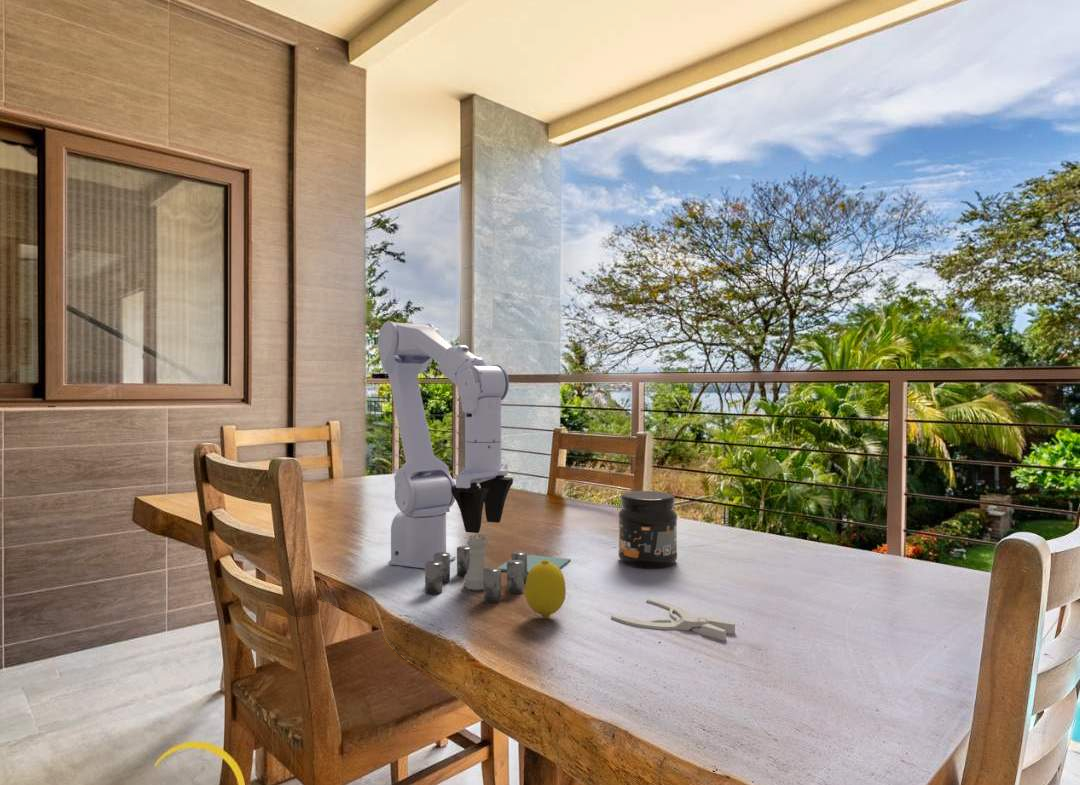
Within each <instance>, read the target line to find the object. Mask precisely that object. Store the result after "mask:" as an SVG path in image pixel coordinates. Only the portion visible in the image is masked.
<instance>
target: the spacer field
mask: <svg viewBox="0 0 1080 785" xmlns="http://www.w3.org/2000/svg"><path fill="white" fill-rule="evenodd" d="M469 551H470V546H469V545H461V546H457V547H456V576H457V577H461V578H464V576H465V575H466V574H467V570H468V568H469V562H470V554H469ZM450 555H451V554H450V552H448V551H446V552H439V553H435V554H434V561H429V562H426V563H425V568H424V584H425V585H424V593H425V595H428V596H436V595H441V594H443V585H447V584H449V583H451V561H450ZM527 555H528V552H526V551H524V550H523V551H522V550H518V551H517V550H516V551H512V552H511V553H510V559H509V560H510V561H509V560H508V561H506V562H507V572H506V593H508V594H512V595H519V594H522V593H524V592H525V588H524V587H525V586H524V584H526V579H527V576H528V574H527ZM483 582H484V590H483V602H484V603H487V604H495V603H496V604H497V603H500V602H501V601H502V571H501V569H500V568H498V567H495V566H494V567H487V568H485V569H484V570H483Z"/></svg>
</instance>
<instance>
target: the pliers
mask: <svg viewBox="0 0 1080 785" xmlns="http://www.w3.org/2000/svg"><path fill="white" fill-rule="evenodd" d="M646 603H649V604H652V605H654V606H658V607H660V608H662V609H666V610H668V612H669V617H670V618H671V619H668V618H667V619H665V618H664V619H662V618H659V619H651V620H637V619H632V618H628V617H622V616H619V615H614V614H612V615H611V617H610V619H611V620H613V621H615V622H618V623H621V624H626V625H629V626H633V627H639V628H645V629H652V630H668V631H670V630H671V631H672V630H681V631H682V630H683V631H689V630H690V631H693V632H695V633H697V634H700V635H704V636H706V637H710V638H713V639H716V640H719V641H722V642H723V641H725V640H727V634H730V635H735V634H736V622H733V621H727V620H723V619H720V618H715V617H711V616H705V615H695V616H693V615H692V614H691V613H690V611H689V612H688V610H685V609H683V608H682V607H680V606H677V605H674V604H671V603H669V602H665V601H661V600H658V599H657V600H656V599H651V598H647V599H646ZM674 613H675V614H676V615H677V616H678V617H679V619H678V620H677V616H676V615H674ZM672 619H673V620H674V622H672Z"/></svg>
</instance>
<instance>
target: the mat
mask: <svg viewBox="0 0 1080 785" xmlns="http://www.w3.org/2000/svg"><path fill="white" fill-rule="evenodd" d="M510 560H511V559H509V560H508V561H510ZM543 560H548V561H549V562H550V563H553V564H554V565H556V566H557V567H558V568H559V569H560V570H561V569H564V567H565V566H566V565H568V564H569V563H570V562H571V558H563V557H556V556H555V557H553V556H543V555H536V554H535V555H534V554H527V575H528V573H529V571H530V570H531V569H532V567H534V566H535V565H536V564H538V563H541V562H542V561H543ZM497 568H500V569H501V572H506V573H507V561H506V562H504V563H503V564H501V565H500V566H498V567H497Z"/></svg>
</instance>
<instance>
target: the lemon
mask: <svg viewBox="0 0 1080 785" xmlns="http://www.w3.org/2000/svg"><path fill="white" fill-rule="evenodd" d="M524 587H525V588H524V592H525V598H526V602H527V604H528V607H529V608H530V609H531V610H532V611H533V612H534V613H536V614H538V615H540V616H541V617H542V618H543V619H549V617H550V616H551V615H552V614H556V612H558V611H559V610H560V609H561V607H562V606H563V604H564V602H565V599H566V590H567V588H566V581H565V577H564V574H563V571H562V570H561V569H559V568H558V567H557V566H556V565H554V564H553V563H550V562H549V561H548V560H543V561H542V562H541V563H538V564H536V565H535V566H534V567H532V569H531V570H530V571H529V573H528V574H527V579H526V582H525V586H524Z"/></svg>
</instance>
